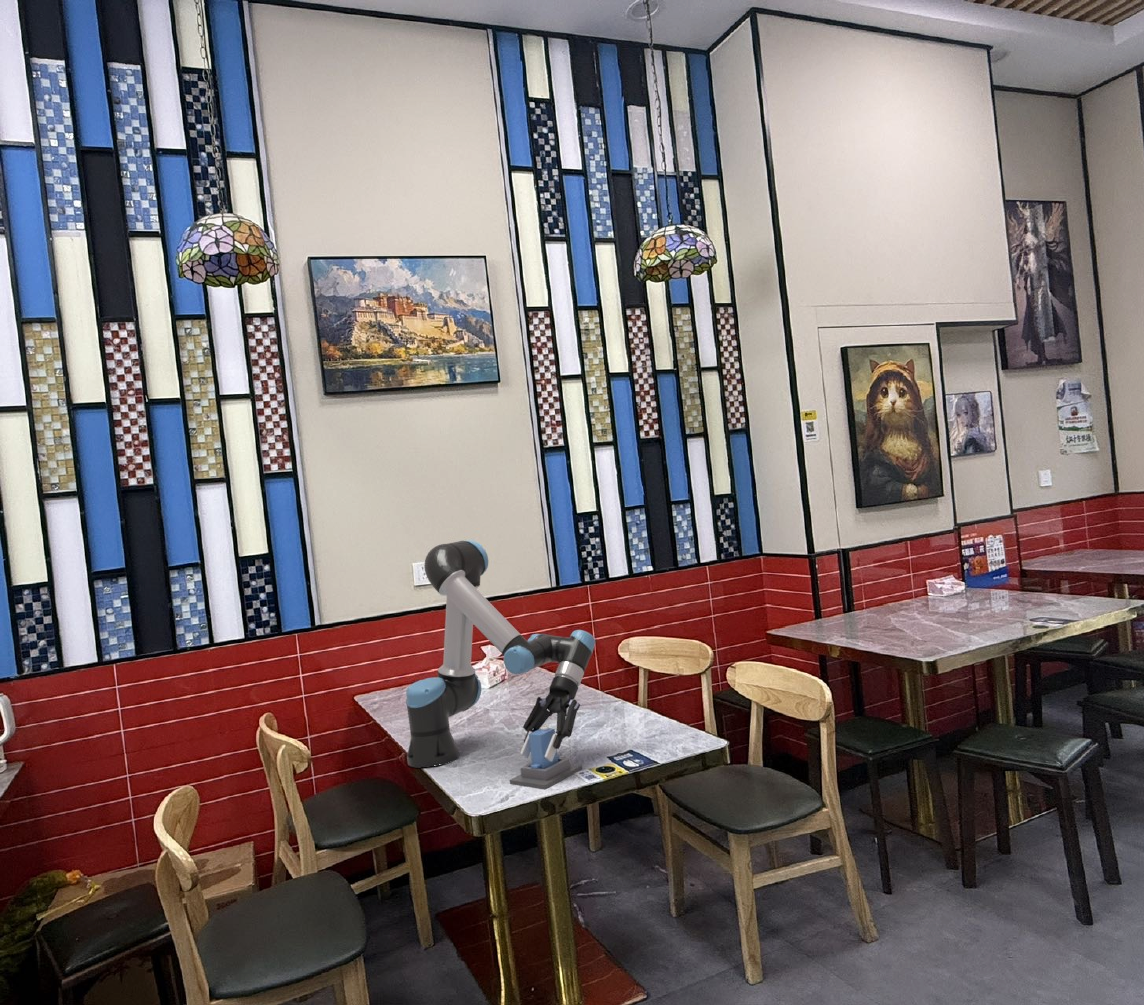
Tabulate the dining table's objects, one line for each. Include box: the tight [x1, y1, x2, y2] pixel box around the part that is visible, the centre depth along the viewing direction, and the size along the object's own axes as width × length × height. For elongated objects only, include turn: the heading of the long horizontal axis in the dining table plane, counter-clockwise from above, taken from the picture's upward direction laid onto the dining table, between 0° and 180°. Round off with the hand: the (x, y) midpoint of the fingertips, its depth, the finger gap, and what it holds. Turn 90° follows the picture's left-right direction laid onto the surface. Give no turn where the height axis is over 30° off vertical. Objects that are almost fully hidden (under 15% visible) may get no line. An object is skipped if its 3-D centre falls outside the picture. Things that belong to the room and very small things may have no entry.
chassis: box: [509, 756, 583, 790], centre depth 221 cm, size 16×12×4 cm
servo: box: [529, 725, 560, 769], centre depth 221 cm, size 10×4×12 cm, turn 143°
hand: (535, 757), depth 219 cm, fingers open, 8 cm apart
